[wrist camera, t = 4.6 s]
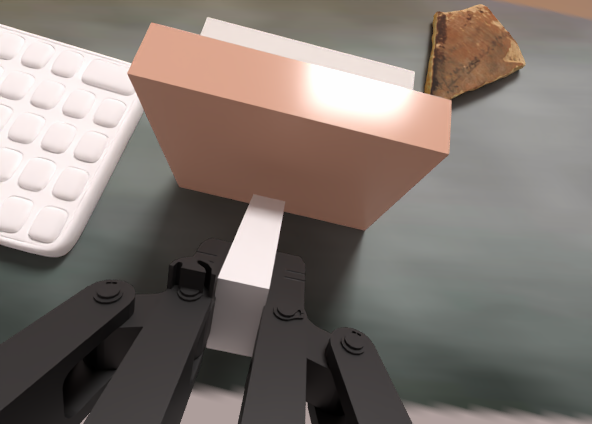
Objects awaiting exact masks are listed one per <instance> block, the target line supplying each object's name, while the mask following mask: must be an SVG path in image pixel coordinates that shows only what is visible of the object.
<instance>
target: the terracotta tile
mask: <svg viewBox="0 0 592 424" xmlns="http://www.w3.org/2000/svg"><path fill="white" fill-rule="evenodd" d="M127 74H128V77H129V79H130V81H131V83H132V85H133V87H134V90H135V92H136V94H137V96H138V98H139V101H140V103H141V105H142V107H143V109H144V111H145V114H146V116H147V118H148V120H149V122H150V124H151V127H152V129H153V131H154V133H155V135H156V138H157V140H158V142H159V144H160V146H161V148H162V151H163V153H164V155H165V157H166V159H167V161H168V164H169V166H170V168H171V170H172V172H173V175H174V177H175V179H176V181H177V183H178V185H179V187H182V188H186V189H190V190H195V191H199V192H203V193H207V194H212V195H216V196H220V197H224V198H229V199H233V200H237V201H241V202H246V203H250V201H251V199H252V196H253V194H255V195H260V196H264V197H268V198H273V199H277V200H281V201H285V207H284V212H288V213H292V214H296V215H301V216H305V217H309V218H313V219H318V220H322V221H326V222H330V223H335V224H339V225H343V226H347V227H352V228H356V229H360V230H364V231H365V230H366V229H367V228H368V227H369V226H371V225H372V224H373V223H374V222H375V221H376V220H377V219H378V218H379V217H380V216H382V215H383V214H384V213H385V212H386V211H387V210H388V209H389V208H390V207H391V206H393V205H394V204H395V203H396V202H397V201H398V200H399V199H400V198H401V197H403V196H404V195H405V194H406V193H407V192H408V191H409V190H410V189H411V188H412V187H414V186H415V185H416V184H417V183H418V182H419V181H420V180H421V179H422V178H423V177H425V176H426V175H427V174H428V173H429V172H430V171H431V170H432V169H433V168H435V167H436V166H437V165H438V164H439V163H440V162H441V161H442V160H443V159H444V158H446V157H447V156H448V155H449V147H450V126H451V104H452V100H448V99H444V98H441V97H437V96H433V95H430V94H426V93H422V92H418V91H414V90H410V89H406V88H403V87H399V86H395V85H391V84H387V83H383V82H379V81H376V80H372V79H368V78H364V77H360V76H356V75H352V74H349V73H345V72H341V71H337V70H333V69H329V68H325V67H322V66H318V65H314V64H310V63H306V62H302V61H298V60H295V59H291V58H287V57H283V56H279V55H275V54H272V53H268V52H264V51H260V50H256V49H252V48H248V47H245V46H241V45H237V44H233V43H229V42H225V41H221V40H218V39H214V38H210V37H206V36H202V35H198V34H194V33H191V32H187V31H183V30H179V29H175V28H171V27H167V26H164V25H159V24H155V23H151V24H150V26H149V29H148V31H147V33H146V35H145V37H144V39H143V41H142V43H141V45H140V47H139V49H138V52H137V54H136V56H135V58H134V60H133V62H132V64H131V66H130V68H129V70H128V72H127Z"/></svg>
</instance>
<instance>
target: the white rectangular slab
mask: <svg viewBox="0 0 592 424" xmlns="http://www.w3.org/2000/svg"><path fill="white" fill-rule="evenodd" d="M201 35H202V36H206V37H210V38H214V39H218V40H221V41H225V42H229V43H233V44H237V45H241V46H245V47H248V48H252V49H256V50H260V51H264V52H268V53H272V54H275V55H279V56H283V57H287V58H291V59H295V60H298V61H302V62H306V63H310V64H314V65H318V66H322V67H325V68H329V69H333V70H337V71H341V72H345V73H349V74H352V75H356V76H360V77H364V78H368V79H372V80H376V81H379V82H383V83H387V84H391V85H395V86H399V87H403V88H406V89H410V90H413V85H414V75H415V71H411V70H407V69H403V68H399V67H395V66H392V65H388V64H384V63H380V62H376V61H373V60H369V59H365V58H361V57H357V56H354V55H350V54H346V53H342V52H338V51H335V50H331V49H327V48H323V47H319V46H316V45H312V44H308V43H304V42H300V41H296V40H293V39H289V38H285V37H281V36H277V35H274V34H270V33H266V32H262V31H258V30H255V29H251V28H247V27H243V26H239V25H236V24H232V23H228V22H224V21H220V20H217V19H213V18H209V17H207V20H206V22H205V25H204V27H203V30H202V32H201Z"/></svg>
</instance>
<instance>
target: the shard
mask: <svg viewBox="0 0 592 424" xmlns="http://www.w3.org/2000/svg"><path fill="white" fill-rule="evenodd" d="M432 25H433V35H432V44H433V47H432V52H431V56H430V60H429V64H428V65H429V67H428V73H427V77H426V83H425V87H424V88H425V91H424V92H425V93H426V94H430V95H433V96H437V97H441V98H444V99H448V100H451V99H452V98H454V97H457V96H458V95H460V94H463V93H464V92H466V91H473V90H476V89H478V88H480V87H482V86H484V85H485V84H488V83H491V82H494V81H496V80H498V79H500V78H504V77H507V76H508V75H510V74H512V73H513V72H515V71H517V70H519V69H521V68H523V67H524V66H525V64H526V63H525V60H524V58H523V56H522V54H521V51H520V49H519V46H518V45H517V43H516V41H515V40H514V39H513V38H512V36H511V35H510V33H509V32H507V31H506V30H505V28H504V27H503V26H502V25H501V23H500V22H499V21H498V20H497V19H496V18H495V16H494V15H493V14H492V12H491V11H490V10H489V9H488V8H487V7H486V6H484V5H482V4H480V5H476V6H473V7H470V8H467V9H465V10H460V11H453V12H447V13H444V12H436V14H435V15H434V20H433V24H432Z"/></svg>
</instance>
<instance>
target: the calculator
mask: <svg viewBox="0 0 592 424" xmlns="http://www.w3.org/2000/svg"><path fill="white" fill-rule="evenodd" d="M24 39H25V40H24ZM83 57H84V58H83ZM130 66H131V63H128V62H125V61H122V60H118V59H115V58H112V57H108V56H105V55H102V54H98V53H95V52H92V51H88V50H85V49H82V48H78V47H75V46H72V45H68V44H65V43H62V42H58V41H55V40H52V39H48V38H45V37H42V36H38V35H35V34H32V33H28V32H25V31H22V30H18V29H15V28H12V27H8V26H5V25H1V24H0V245H3V246H7V247H11V248H14V249H18V250H22V251H25V252H29V253H33V254H38V255H42V256H47V257H60V256H63V255H65V254H67V253H68V252H69V251H70V250H71V249H72V248H73V246H74V245H75V244H76V242H77V241H78V239H79V237H80V235H81V234H82V232H83V230H84V228H85V226H86V224H87V222H88V220H89V218H90V216H91V214H92V212H93V210H94V208H95V206H96V204H97V202H98V201H99V199H100V197H101V195H102V193H103V191H104V189H105V187H106V185H107V183H108V181H109V179H110V177H111V175H112V173H113V171H114V169H115V167H116V165H117V163H118V161H119V159H120V157H121V155H122V153H123V151H124V149H125V147H126V145H127V143H128V141H129V139H130V137H131V135H132V133H133V132H134V130H135V128H136V126H137V124H138V122H139V120H140V118H141V116H142V114H143V112H144V109H143V107H142V105H141V103H140V101H139V98H138V96H137V94H136V92H135V90H134V87H133V85H132V83H131V81H130V79H129V77H128V74H127V72H128V70H129V68H130ZM82 81H83V82H82ZM95 96H96V97H95ZM31 103H32V104H31ZM10 108H11V109H10ZM63 113H64V114H63ZM94 122H95V123H94ZM107 137H108V138H107ZM87 172H88V173H87ZM27 199H28V200H27ZM59 208H60V209H59ZM62 209H63V210H62Z"/></svg>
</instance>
